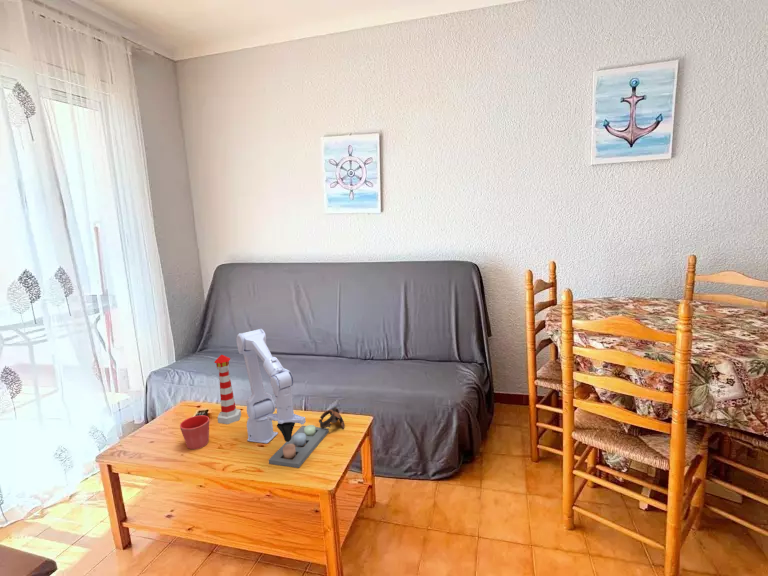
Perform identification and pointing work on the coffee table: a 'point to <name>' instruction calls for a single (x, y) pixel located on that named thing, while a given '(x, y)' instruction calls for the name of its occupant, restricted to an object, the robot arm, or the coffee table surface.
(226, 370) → the decorative lighthouse
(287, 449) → the terracotta button
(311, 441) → the grey slotted board
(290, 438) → the robot arm
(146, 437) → the coffee table surface
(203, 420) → the flower pot
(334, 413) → the brown curved piece
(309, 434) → the sage button
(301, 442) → the slate button
